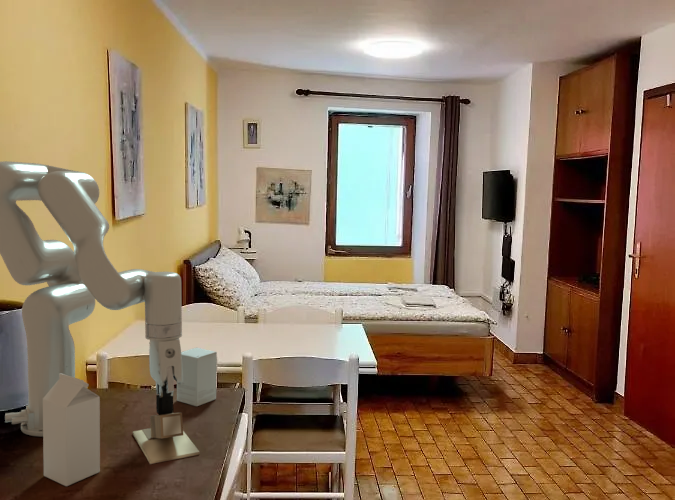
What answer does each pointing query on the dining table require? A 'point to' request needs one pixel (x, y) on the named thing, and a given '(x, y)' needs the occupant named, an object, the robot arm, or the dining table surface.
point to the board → (164, 446)
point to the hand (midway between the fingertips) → (164, 412)
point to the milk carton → (71, 431)
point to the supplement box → (198, 377)
